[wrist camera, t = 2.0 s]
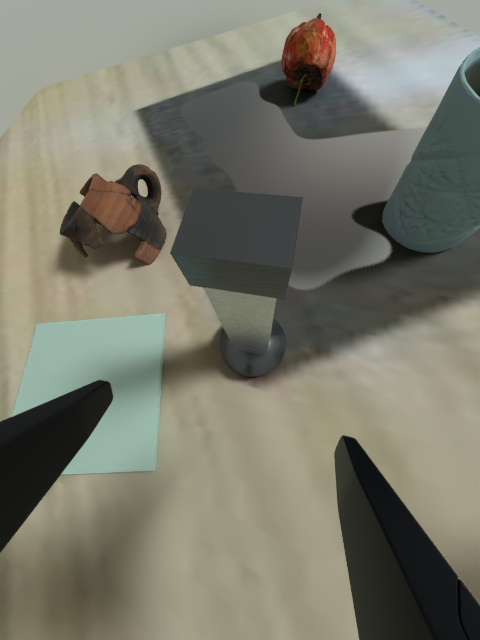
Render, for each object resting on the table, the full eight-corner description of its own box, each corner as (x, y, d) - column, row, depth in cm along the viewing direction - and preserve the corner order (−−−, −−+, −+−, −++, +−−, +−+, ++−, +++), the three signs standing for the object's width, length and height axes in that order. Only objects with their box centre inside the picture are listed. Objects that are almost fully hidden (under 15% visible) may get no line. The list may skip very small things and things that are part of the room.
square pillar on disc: (279, 382, 20) (332, 334, 5) (216, 370, 21) (112, 297, 6) (288, 322, 22) (345, 161, 7) (230, 312, 23) (175, 151, 8)
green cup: (394, 265, 23) (517, 141, 12) (360, 195, 27) (433, 49, 16) (491, 247, 23) (708, 104, 12) (445, 179, 27) (579, 19, 15)
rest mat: (156, 468, 19) (152, 470, 18) (2, 475, 20) (-6, 477, 19) (165, 315, 24) (163, 313, 23) (41, 325, 25) (36, 323, 24)
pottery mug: (141, 289, 26) (56, 247, 20) (120, 269, 32) (51, 232, 26) (196, 200, 26) (128, 130, 19) (164, 197, 32) (105, 144, 26)
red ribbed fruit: (319, 123, 36) (353, 40, 32) (309, 89, 29) (349, -18, 26) (279, 116, 38) (306, 38, 35) (262, 84, 32) (292, -14, 28)
